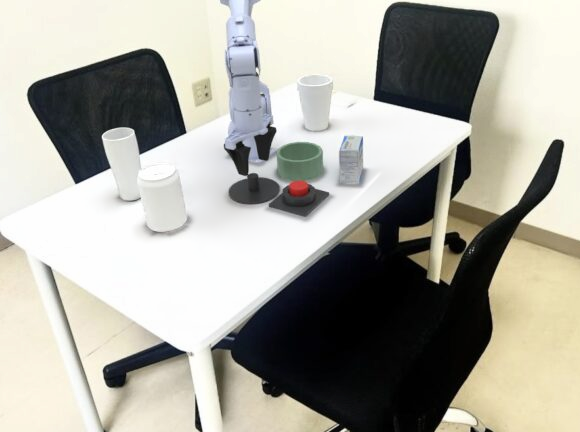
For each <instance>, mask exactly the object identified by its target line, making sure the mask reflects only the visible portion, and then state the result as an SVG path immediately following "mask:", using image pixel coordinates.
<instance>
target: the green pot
mask: <svg viewBox="0 0 580 432" xmlns="http://www.w3.org/2000/svg"><path fill="white" fill-rule="evenodd" d="M275 155H276V167H277V174H278V175H279V177H281V178H283V179H284V180H287V181H291V182H294V181H305V182H307V181H311V180H313V179H316V178H318V177H319V176H321V175H322V174H323V172H324V151H323V149H322V147H321V146H320V145H319V144H317V143H314V142H309V141H295V142H288V143H286V144H283V145H282V146H279V148H278V149H276V154H275Z"/></svg>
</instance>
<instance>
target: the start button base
mask: <svg viewBox="0 0 580 432" xmlns="http://www.w3.org/2000/svg"><path fill="white" fill-rule="evenodd" d="M329 196H330V192H329V191H325V190H322V189H318V188H316V187H315V186H313V185H312V184H309V183H308V194H307V195H304V196H293V195H290V193H289V184H287V185H286V186H285V187H284V188H282V192H281V193H279V194H278V195H277V196H276V197H275V198H273V199H272V200H271V201H270V202H269V203H268V208H271V209H275V210H279V211H282V212H286V213H289V214H293V215H297V216H300V217H304V218H307V217H308V216H309V215H310V214H311V213H312V212H313V211H314V210H315V209H317V207H318V206H320V205H321V203H323V202H324V200H326V199H327V198H328V197H329Z"/></svg>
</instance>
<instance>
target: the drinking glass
mask: <svg viewBox="0 0 580 432" xmlns="http://www.w3.org/2000/svg"><path fill="white" fill-rule="evenodd" d="M101 140H102V145H103V148H104V153H105V156H106V158H107V162H108V164H109V167H110V170H111V172H112V175H113V178H114V180H115V183H116V186H117V189H118V193H119V197H120V198H121V199H122V200H123V201H129V202H130V201H131V202H132V201H136V200H139V199H141V197H140V192H139V188H138V184H137V178H138V172H139V171H140V170H141V169H142V164H141V157H140V148H139V144H138V139H137V136H136V134H135V129H133V128H130V127H115V128H112V129H109V130H107V131H105V132H103V134H102V135H101Z"/></svg>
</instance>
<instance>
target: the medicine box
mask: <svg viewBox="0 0 580 432" xmlns="http://www.w3.org/2000/svg"><path fill="white" fill-rule="evenodd" d="M338 165H339V166H338V167H339V168H338V171H339V184H349V185H360V182H361V179H362V175H363V171H364V170H363V169H364V136H362V135H344V136H343V139H342V142H341V145H340V147H339V151H338Z"/></svg>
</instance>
